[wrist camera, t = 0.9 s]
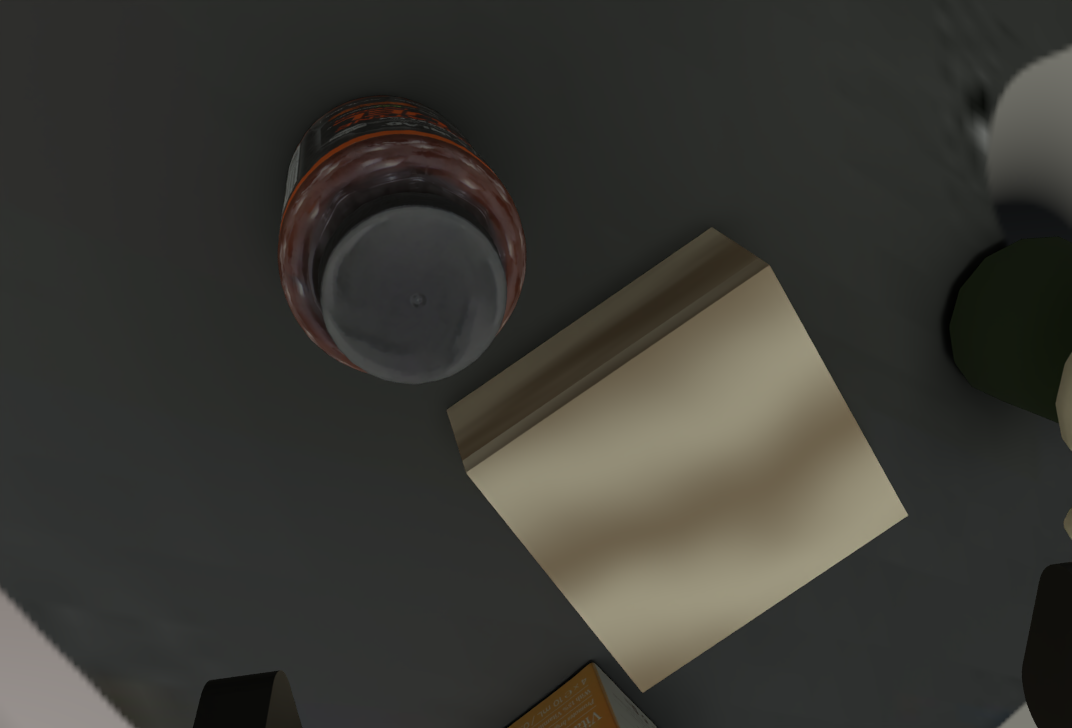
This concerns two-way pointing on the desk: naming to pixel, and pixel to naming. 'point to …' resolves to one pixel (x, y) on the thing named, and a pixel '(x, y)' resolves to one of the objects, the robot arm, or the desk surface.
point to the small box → (586, 705)
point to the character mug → (1020, 330)
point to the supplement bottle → (398, 242)
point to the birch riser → (677, 457)
